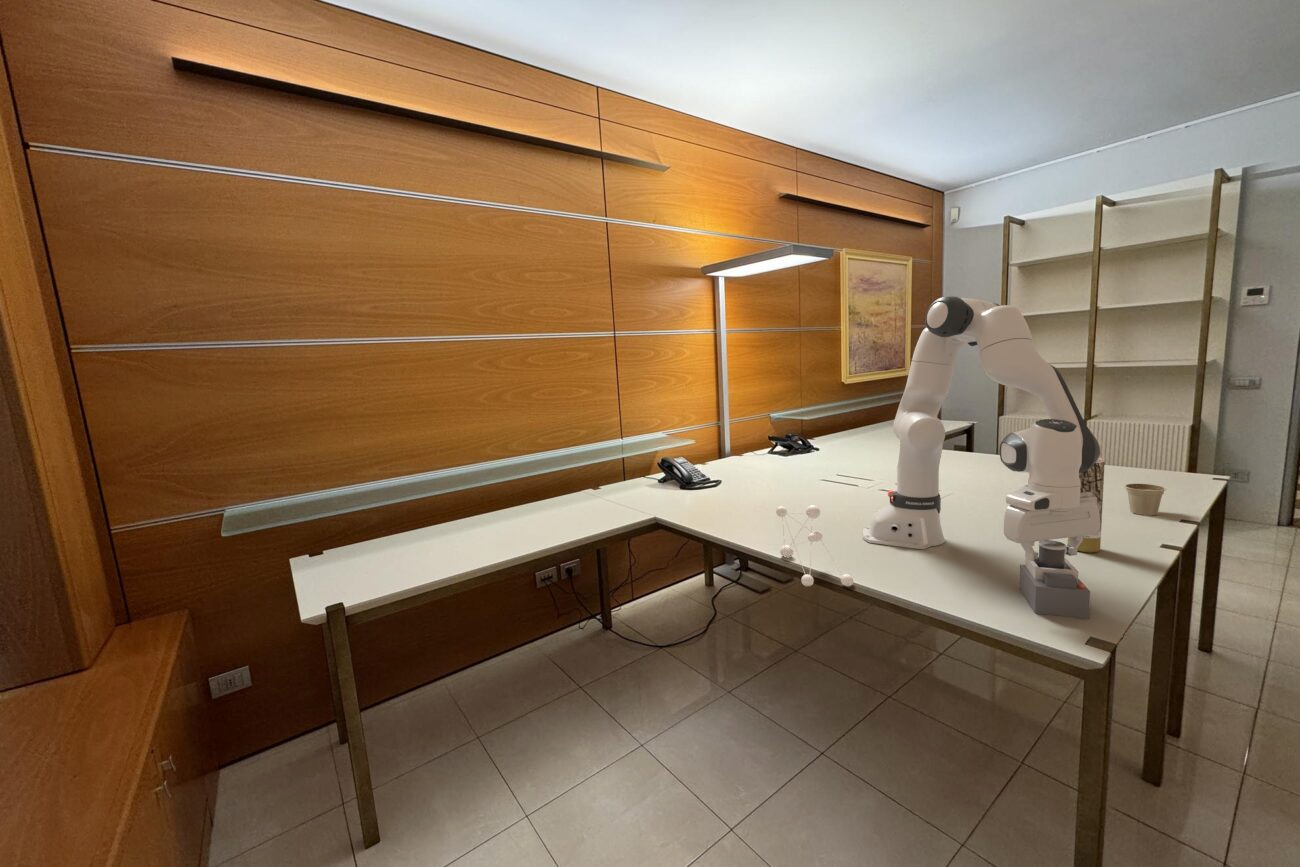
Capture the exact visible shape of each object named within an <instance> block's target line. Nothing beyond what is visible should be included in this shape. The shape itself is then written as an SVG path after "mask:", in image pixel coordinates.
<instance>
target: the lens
mask: <svg viewBox="0 0 1300 867" xmlns="http://www.w3.org/2000/svg"><path fill="white" fill-rule="evenodd" d="M1066 546H1067V545H1066V544H1065V543H1063V542H1061V541H1058V540H1053V539H1052V540H1044V541H1038V557H1039V563H1038V567H1043V568H1056V569H1064V559H1065V556H1066V554H1065V549H1066Z"/></svg>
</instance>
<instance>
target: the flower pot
mask: <svg viewBox="0 0 1300 867" xmlns="http://www.w3.org/2000/svg"><path fill="white" fill-rule="evenodd" d="M1124 488H1125V490H1126V492H1127V496H1128V503H1129V510H1130V513H1132V514H1138V515H1139V516H1148V517H1149V516H1157V515H1158V513H1159V510H1160V509H1159V508H1160V504H1161V502H1162V497H1163V495H1164V494H1165V493H1164V492H1165V491H1167V488H1166V487H1165V486H1161V485H1156V484H1152V483H1151V484H1150V483H1138V482H1137V483H1135V482H1133V483H1127V484H1124Z"/></svg>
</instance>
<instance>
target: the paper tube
mask: <svg viewBox="0 0 1300 867" xmlns="http://www.w3.org/2000/svg"><path fill="white" fill-rule="evenodd" d="M1105 462H1106V461H1105V458H1103V457H1099V458H1098V460H1097V462H1096V463H1095V464H1094V465H1093V466H1092V467H1091V468H1090V469H1088V470H1087V471H1085V472H1083V473H1079V479H1080V482H1081V488H1080V493H1083V492H1091V494H1093V495H1095V497H1096V498H1097V506H1098V509H1099V515H1100V530H1099V531H1098V533H1097V534H1093V535H1085V536H1083V541H1082V542H1081V544H1080V545H1079V547H1078V548H1077V552H1082V553H1091V554H1092V553H1097V552H1099V551H1100V550H1101V541H1102V522H1103V501H1104V485H1105V484H1104V482H1105V479H1104V478H1105ZM1069 540H1070V538H1067V543H1068V542H1069Z"/></svg>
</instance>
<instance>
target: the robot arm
mask: <svg viewBox="0 0 1300 867" xmlns="http://www.w3.org/2000/svg"><path fill="white" fill-rule="evenodd" d="M924 322H925V328H924V329H923V330H922V332H921V334H920V336H919V338H918V339H917V343H916V344H915V345H916V346H915V347H914V351H913V355H912V358H911V363H910V367H909V372H908V375H907V380H906V384H905V388H904V391H903V394H902V397H901V400H900V402H899V405H898V408H897V411H896V414H895V418H894V420H893V424H892V425H893V426H892V428H893V433H894V435H895V437H896V438H897V439H899V444H900V445H899V456H898V461H897V465H896V491H894V490H893V489H891V490H889V491H887V496H888V497H889V503H888V504H887V505H885V506H884V507H882V508H880V509H878V510H877V511H876V512H875V513H873V515H872V516H871V519H870V522H869V525H868V526H866V527H864V528H863V529H862V538H863V540H865V541H866V542H868V543H870V544H877V545H886V546H893V547H900V548H908V549H917V550H926V549H927V548H931V547H935V546H939V545H942V544H944V543H945V541H946V539H945V536H944V534H943V528H942V524H941V518H940V516H941V509H942V508H941V507H942V506H941V505H942V499H941V498H942V497H941V493H940V492H939V488H940V487H939V484H940V482H939V480H940V477H939V476H940V473H939V472H940V464H941V458H942V452H943V447H944V446H943V445H944V442H945V439H946V429H945V427H944V424H943V423H942V421H941V420H940V418H939V417H938V415H939V412H940V410H941V407H942V406H943V403H944V401H945V399H946V398H947V396H948V394H949V392H950V387H951V383H952V379H953V374H954V371H955V367H956V362H957V357H958V354H959V351H960V349H961V348H962V347H963V346H965V345H966V344H968V345H969V346H970V347H975V346H977V348H978V354H979V359H980V365H981V367H982V369H983V370H982V371H984V373H985V375H986V376H987V377H988V378H989V379H990V380H992V381H994V382H995V383H998V384H1000V385H1003V386H1005V387H1010V388H1015V389H1019V390H1021V391H1025V392H1028V393H1031V394H1032V395H1034V396H1035V397H1038V398H1039V399H1040V400H1041V402H1042V404H1043V405H1044V407H1045V409H1046V411H1047V413H1048V416H1049V418H1045V419H1043V418H1042V419H1039V420H1036V421H1035V422H1033V423H1032V424H1031V426H1030V427H1028V428H1026V429H1021V430H1017V431H1014V432H1010V433H1008V434H1007V435H1006V436H1004V438H1003V439H1002V440H1001V442H1000V445H999V458H1000V461H1001V463H1002V464H1003V465H1004V466H1005V467H1006V468H1007V469H1009V470H1010V471H1012V472H1016V473H1028V475H1029V476H1028V481H1027V485H1024V486H1022V487H1020V488H1019V489H1017V490H1014V491H1012V492H1010V493H1008V494H1007V495H1006V496H1005V503H1006V504H1007V505H1009V506H1008V507H1006V509H1005V511H1004V514H1003V515H1004V516H1003V535H1004V536H1005V537H1006V539H1007V540H1008V541H1011V542H1014V543H1016V544H1020V546H1021V547H1022V549H1023V550H1024V551H1025V552H1024V557H1025V558H1026V559H1028V560H1030V561H1033V560H1038V557H1039V552H1037V551H1035V550H1034V548H1033V547H1034V546H1035V543H1036V542H1039V541H1044V540H1052V541H1053V540H1059V539H1068V538H1070V540H1069V542H1068V541H1067V545H1066V549H1065V556H1066V555H1067V556H1068V557H1069V556H1070V557H1071V556H1077V555H1078V551H1077V548H1078V547H1079V545H1080V544H1081V542H1082V541H1083V536H1085V535H1093V534H1097V533H1098V531H1099V530H1100V515H1099V509H1098V506H1097V498H1096V497H1095V495H1093V494H1091V492H1083V493H1080V488H1081V482H1080V479H1079V473H1083V472H1085V471H1087V470H1088V469H1090V468H1091V467H1092V466H1093V465H1094V464H1095V463H1096V462H1097V460H1098V458H1100V456H1101V447H1100V443H1099V441H1098V440H1097V438H1096V437H1095V435H1094V434H1093V433H1092V431H1091V430H1090V428H1089V427H1088V426H1087V424H1086V422H1085V420H1084V418H1083V416H1082V414H1081V412H1080V410H1079V408H1078V406H1077V403H1076V402H1075V399H1074V397H1073V396H1072V393H1071V392H1070V389H1069V387H1068V385H1067V383H1066V381H1065V379H1064V378H1063V376H1062V374H1061V372H1060V371H1059V369H1057V368H1056V366H1054V365H1051V364H1049V363H1048V362H1047V361H1046V360H1045V358H1043V357H1042V356H1041V355H1040V353H1039V352H1038V350H1037V348H1036V346H1035V343H1034V339H1033V336H1032V333H1031V329H1030V327H1029V325H1028V323H1027V321H1026V319H1025V317H1024V315H1023V313H1022V311H1021V310H1020V309H1018V308H1017V307H1015V306H1013V305H1007V304H1006V305H1005V304H1004V305H1001V304H998V303H996V302H989V301H986V300H982V299H979V298H967V297H958V296H953V295H951V296H943V297H940V298H937V299H936V300H934V301H933V302H932V303H931V304H930V305H929V307H928V309H927V311H926V312H925V319H924Z"/></svg>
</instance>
